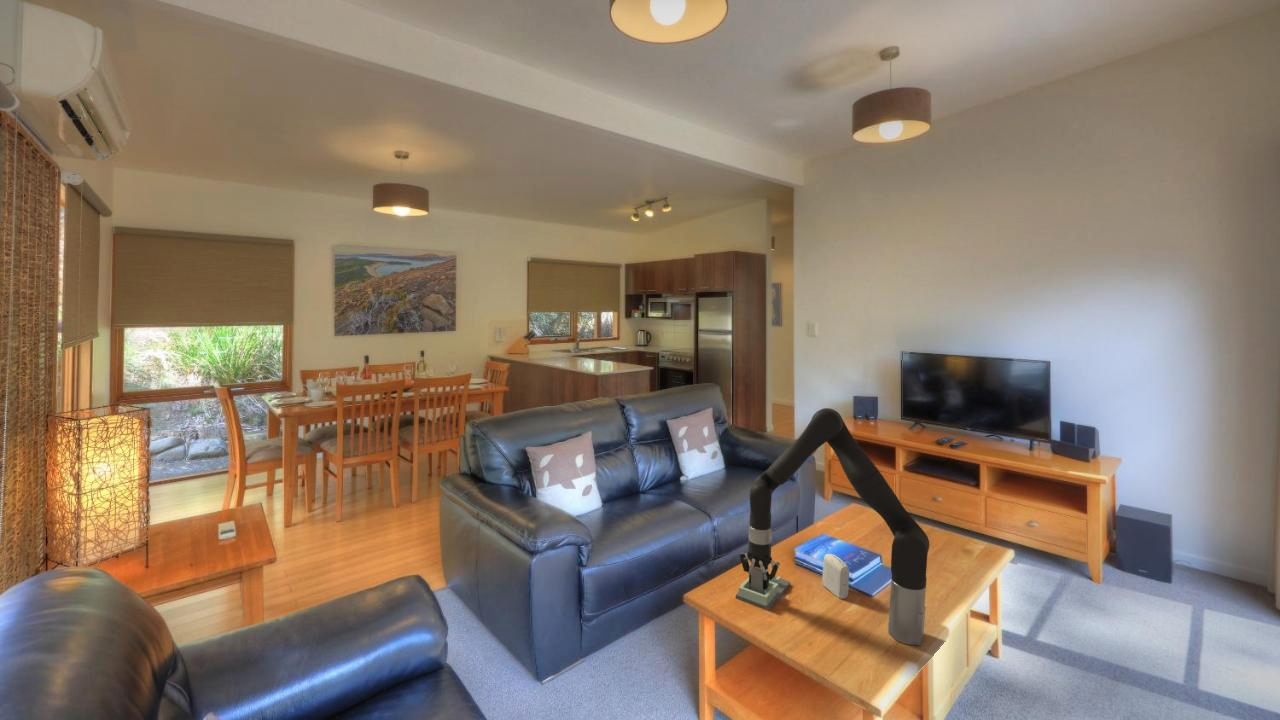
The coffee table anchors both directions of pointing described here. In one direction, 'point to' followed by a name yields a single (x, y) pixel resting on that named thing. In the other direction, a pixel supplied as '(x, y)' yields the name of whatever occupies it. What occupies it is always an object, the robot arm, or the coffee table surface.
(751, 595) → the end holder
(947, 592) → the coffee table surface
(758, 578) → the block
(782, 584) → the board
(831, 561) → the photo printer
